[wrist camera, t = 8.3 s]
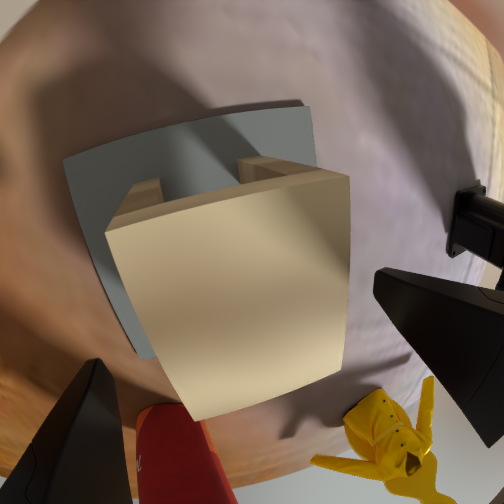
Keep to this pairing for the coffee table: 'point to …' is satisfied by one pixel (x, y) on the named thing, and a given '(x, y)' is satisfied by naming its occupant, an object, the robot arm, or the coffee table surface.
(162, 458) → the paper cup
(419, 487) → the figure statuette
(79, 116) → the coffee table surface
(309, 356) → the stool
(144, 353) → the felt pad
